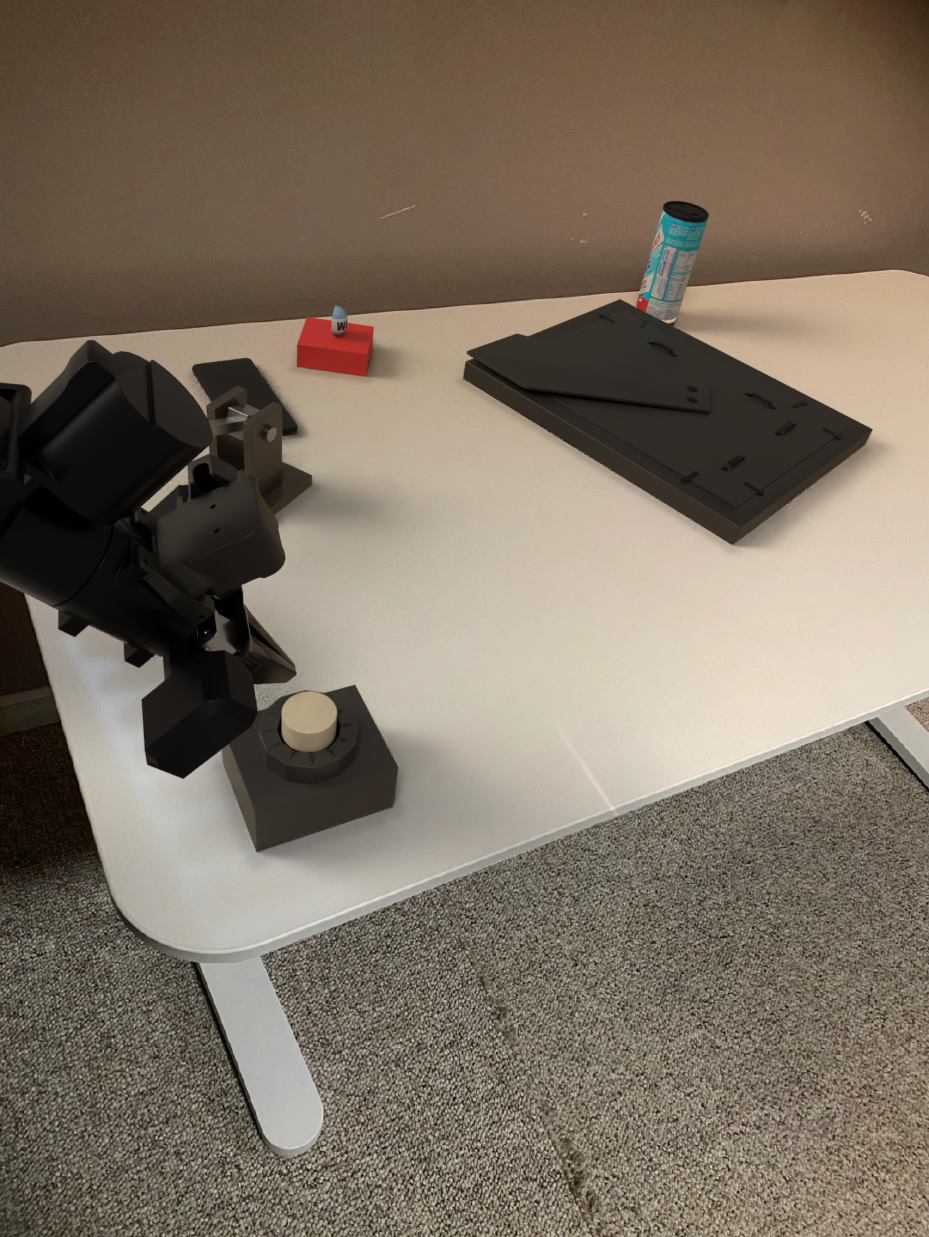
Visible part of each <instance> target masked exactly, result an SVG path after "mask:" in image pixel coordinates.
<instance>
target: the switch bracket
mask: <svg viewBox="0 0 929 1237" xmlns="http://www.w3.org/2000/svg"><path fill="white" fill-rule="evenodd" d="M240 405H247V398H246V389H244V388H242V387H239V386H237V387H235V388H233V389H232V390H230V391H228V392H227V393H225V394H224V395H222V396H220V397H219V398H217V399H216V400H214V401H212V402H211V401H210V402H209V403H208V404H206V405H205V408H206V410H205V412H206V417H207V419H208V420H215V419H221V418H227V412H228V408H229V407H233V406H240ZM243 440H244V441H242V440H240V439H238V438H236V437H233V436H231V435H229V434H223V435H218V436H213V439H212V443H211V444H210V445H209V446H208V452H209V453H208V454H212V455H213V456H215V457H217V458H219V459H221V460H222V461H224V462H226V463H228V464H229V465H231V466H233V467H234V468H236V469H237V471H240V470H242V469H243V470H244V472H245V473H246V475H247V476H248V475H251V476H254V477H255V478H256V479H257V482H258V487H259V492H260V495H261V496H262V498H263V499H264V501H265V503H266V504H267V506H268V507H269V509H270V510H271V512H272V514H273V515H274V516H275V515H277V514H278V513H279V512H280V511H281V510H283V509H284V508H285V507H286V506H287V505H289V504H290V503H291V502H292V501H294V500H295V499H296V498H298V497H299V496H300V495H301V494H302V493H304V492H305V491H306V490H307V489H309V488H310V487H311V486H312V485H313V475H312V474H310V473H309V472H306V471H304V470H302V469H300V468H297V467H296V466H293V465H291V464H289V463H286V462H285V461H283V435H282V405H280V404H278V403H276V402H272V403H270V404H269V405H267V406H266V407H264V408H263V409H261V410H260V411H258V412H257V413H255V414H254V415H253V416H251V417H250V418H248V419H247V420H245V421H244V422H243Z"/></svg>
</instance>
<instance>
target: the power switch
mask: <svg viewBox="0 0 929 1237" xmlns="http://www.w3.org/2000/svg"><path fill="white" fill-rule="evenodd" d="M258 411H260V410H259V409H256V408H254V407H252V406H250V405H240V406H233V407H229V408H228V412H227V418H221V419H215V420H209V423H210V426H211V429H212V432H213V436H218V435H223V434H229V435H231V436H233V437H236V438H238V439H240V440H242V441H244V440H243V422H244V421H245V420H247V419H248V418H250V417H251V416H253V415H254V414H255V413H257V412H258Z"/></svg>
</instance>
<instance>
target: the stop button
mask: <svg viewBox="0 0 929 1237" xmlns="http://www.w3.org/2000/svg"><path fill="white" fill-rule="evenodd" d="M318 692H319V691H316V692H301V693H298V694H296V695H293V696H292V697H290V698H289V699H288V700H287V701H286V702H285V704H284V706H283V708H282V736H283V739H284V741H285V742H286V743H287V744H288V745H289V746H290V747H291V748H293V749H295V750H297V751H300V752H307V753H311V752H317V751H320V750H323V749H325V748H326V747H328V746H329V745H330V744H331V743H332V741H333V740H334V738H335V735H336V723H337V708H336V706H335V704H334V702H333V701H332V700H331V699H330V698H329V697H327V696H326V695H324V694H321V693H318Z"/></svg>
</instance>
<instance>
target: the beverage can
mask: <svg viewBox="0 0 929 1237" xmlns="http://www.w3.org/2000/svg"><path fill="white" fill-rule="evenodd" d="M709 217H710V214H709V211H707V209H705V208H704V207H702V206H700V205H697V204H695V203H692V202H688V201H682V200H669V201H665V202H664V203H663V204H662V210H661V212H660V217H659V220H658V223H657V226H656V230H655V234H654V237H653V240H652V245H651V249H650V252H649V256H648V258H647V259H648V260H647V263H646V267H645V271H644V274H643V278H642V282H641V285H640V289H639V292H638V295H637V296H638V297H637V300H636V303H635V306H636V307H637V308H638V309H640V310H642V311H644V312H646V313H648V314H650V315H652V316H654V317H656V318H658V319H660V320H665V321H666V320H670V319H671V320H672V319H674V318H675V317H677V318H678V316H679V312H680V310H681V306H682V304H683V300H684V296H685V294H686V291H687V287H688V283H689V281H690V278H691V275H692V272H693V269H694V265H695V262H696V258H697V255H698V252H699V249H700V246H701V242H702V239H703V236H704V233H705V229H706V226H707V223H708V219H709ZM676 321H677V319H676V320H675V321H674V322H671V323H668V324H669V325H671V326H674V324H675V323H676Z"/></svg>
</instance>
